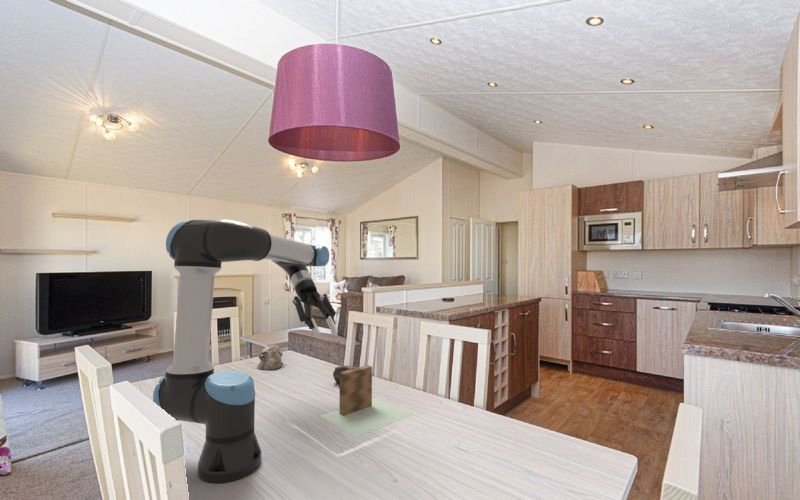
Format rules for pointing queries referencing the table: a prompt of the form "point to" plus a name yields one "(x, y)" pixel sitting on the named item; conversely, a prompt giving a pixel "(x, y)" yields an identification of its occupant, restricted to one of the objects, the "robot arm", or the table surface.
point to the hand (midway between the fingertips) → (326, 334)
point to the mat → (367, 418)
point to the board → (355, 390)
